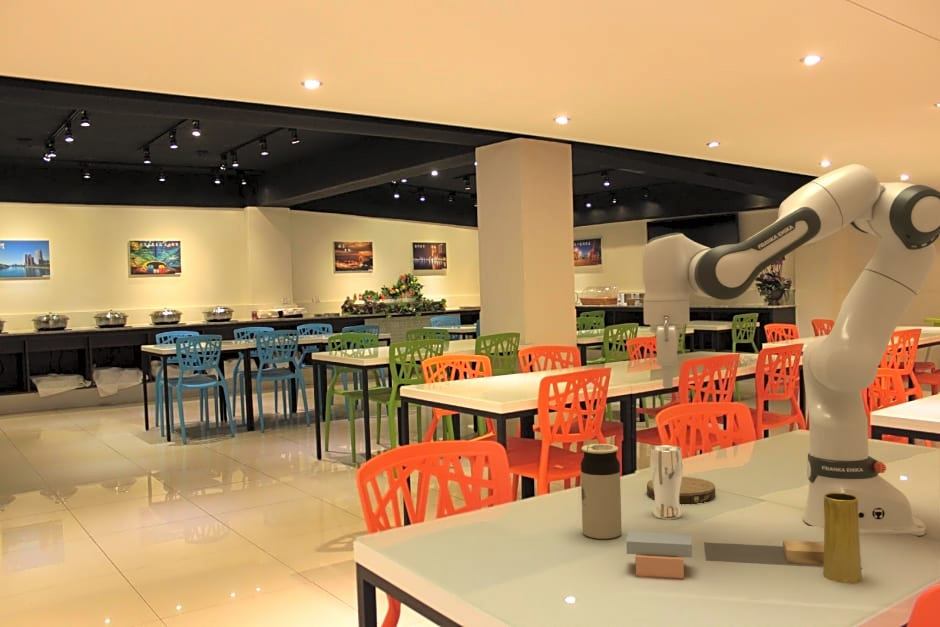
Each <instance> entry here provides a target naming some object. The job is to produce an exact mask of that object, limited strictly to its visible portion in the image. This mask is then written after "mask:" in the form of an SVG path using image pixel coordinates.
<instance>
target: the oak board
mask: <svg viewBox="0 0 940 627" xmlns="http://www.w3.org/2000/svg"><path fill="white" fill-rule="evenodd" d="M782 546H783V553H784V556H785V558H786V560H787V562H788V563H806V564H823V558H824V541H823V542H822V541H806V540H805V541H801V540H782Z"/></svg>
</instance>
